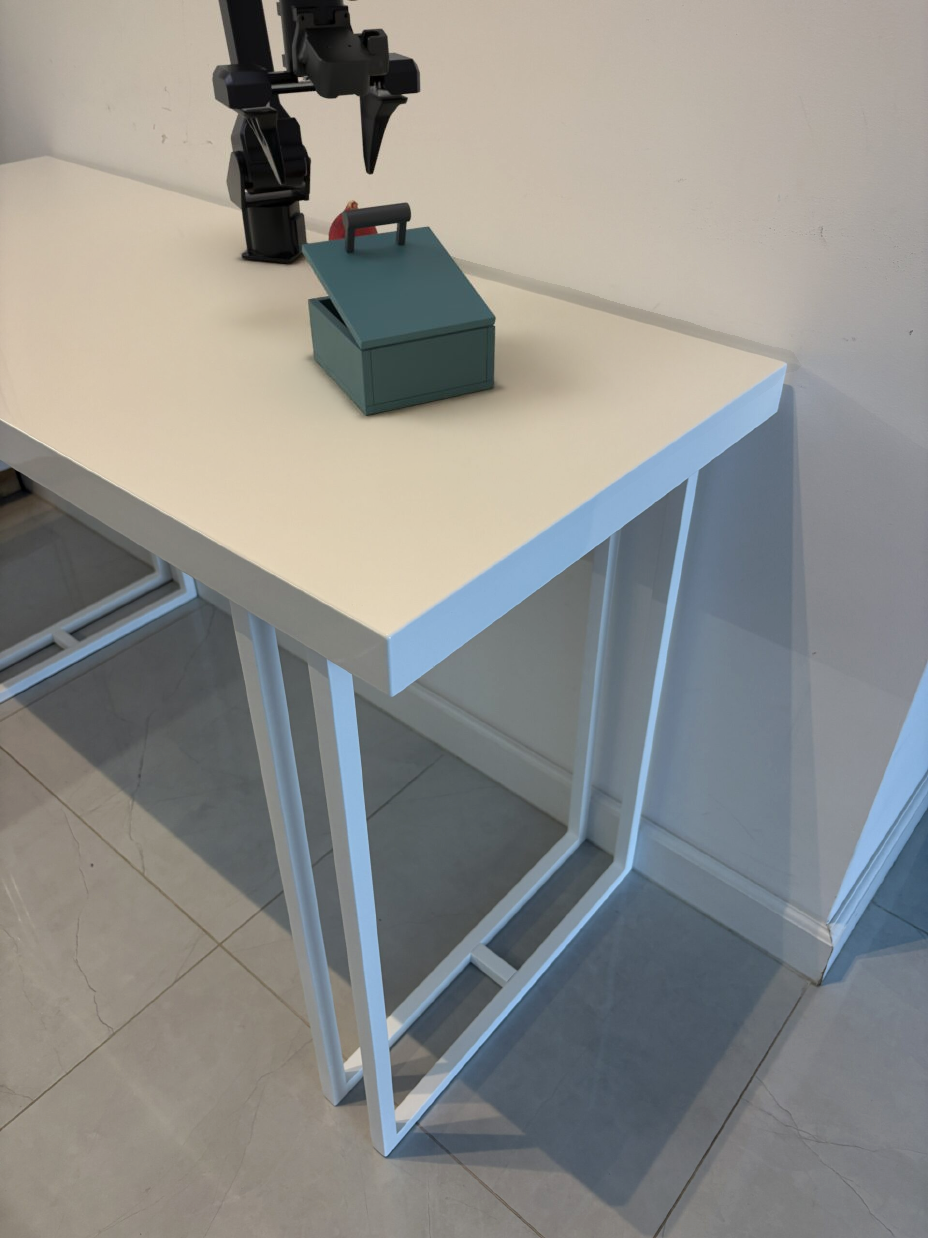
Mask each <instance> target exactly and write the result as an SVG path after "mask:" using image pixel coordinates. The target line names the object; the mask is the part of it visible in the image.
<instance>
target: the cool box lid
mask: <svg viewBox="0 0 928 1238" xmlns="http://www.w3.org/2000/svg"><path fill="white" fill-rule="evenodd" d="M344 210H345V209H344ZM344 210H342V212H343V213H342V212H341V213H342V221H343V225H344V228H345V238H344V239H337V240H330V241H329V240H323V241H316V242H310V243H309V244H303V245H302V255H303V256H304V258H305V259H306V261H307V262H308V264H309V265H310V268H311V269H312V271H313V273H314V274H315V276H316V277H317V279H318V281H319V283H320V284H321V286H322V288H323V289H324V291H325V293H326V295H327V296H329V297H330V299H331V301H332V302H333V304H334V306H335V307H336V309H337V311H338V312H339V314H340V316H341V317H342V319H343V321H344V322H345V324H346V326H347V327H348V329H349V331H350V332H351V334H352V336H353V337H354V339H355V341H356V342H357V344H358V345H359V347H360V349H361V350H362V349H368V348H373V347H378V346H384V345H389V344H394V343H399V342H405V341H410V340H415V339H421V338H426V337H431V336H436V335H442V334H447V333H452V332H458V331H463V330H468V329H473V328H479V327H484V326H489V325H494V326H495V324H496V320H497V317H496V315H495V314H494V312H493V311H492V309H490V307H489V306H488V305H487V303H486V301H485V300H484V299H483V297H482V296H481V295H480V293H479V292H478V291H477V289H476V288H475V287H474V285H473V283H471V281H470V280H469V279H468V277H467V276H466V275H465V273H464V272H463V270H462V269H461V268H460V267H459V265H458V264H457V262H456V261H455V260H454V258H453V257H452V256H451V254H450V253H449V251H448V250H447V249H446V247H445V246H444V245H443V243H442V242H441V240H440V239H439V238H438V236H436V234H435V233H434V231H433V230H432V229H431V227H430V226H428V225H427V226H421V227H414V228H408V229H407V227H408V223H409V222H410V221H411V220H412V209H411V206H410V203H408V202H407V201H406V202H399V203H398V202H397V203H392V204H391V203H389V204H383V205H375V206H367V207H360V208H358V209H352V210H345V211H344ZM389 225H396V230H393V231H386V232H385V231H384V232H380V233H379V232H378V234H371V235H365V236H358V237H355V229H360V228H367V227H374V226H375V227H380V226H389Z"/></svg>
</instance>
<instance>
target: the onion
mask: <svg viewBox="0 0 928 1238" xmlns="http://www.w3.org/2000/svg"><path fill="white" fill-rule="evenodd" d="M358 206H359V203H358V202H357V201H355V200H353V199H352V200H349V201H347V204H346V205H345V208H344V210H343V211H345V210H352V209H359V207H358ZM343 211H341V212H340V213H339V214H338V215H337V216H336V217H335V218H334V219H333V221H332V223H331V225H330V226H329V231H328V241H330V240H337V239H344V238H345V228H344V225H343V221H342V213H343ZM378 233H379V232H378V230H377V226H374V227H367V228H360V229H355V237H358V236H365V235H371V234H378Z"/></svg>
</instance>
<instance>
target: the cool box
mask: <svg viewBox="0 0 928 1238" xmlns="http://www.w3.org/2000/svg"><path fill="white" fill-rule="evenodd" d="M307 306H308V315H309V324H310V333H311V334H310V335H311V342H312V343H311V344H312V354H313V359H314V361H316V362H317V364H319V366H320V367H321V369H323V370H324V371H325V372H326V374H328V376H329V377H330V378H331V379H332V380H333V381H334V382H335V383H336V384H337V386H338V387H339V388H340V389H341V390H342V391H343V392H344V393H345V394H346V395H347V397H348V398H349V399H350V400H351V401H352V402H353V403H354V404H355V405H356V406H357V408H359V410H360V411H361V412H362V413H363V414H364V415H365V416H370V415H375V414H380V413H383V412H390V411H393V410H398V409H402V408H407V407H411V406H416V405H420V404H425V403H430V402H431V403H432V402H435V401H439V400H444V399H448V398H453V397H457V396H463V395H467V394H472V393H476V392H481V391H486V390H491V389H494V388H495V364H496V363H495V362H496V361H495V357H496V325H495V324H494V325H489V326H484V327H479V328H473V329H468V330H463V331H458V332H452V333H447V334H442V335H436V336H431V337H426V338H421V339H415V340H410V341H405V342H399V343H394V344H389V345H384V346H378V347H373V348H368V349H362V350H361V349H360V347H359V345H358V344H357V342H356V341H355V339H354V337H353V336H352V334H351V332H350V331H349V329H348V327H347V326H346V324H345V322H344V321H343V319H342V317H341V316H340V314H339V312H338V311H337V309H336V307H335V306H334V304H333V302H332V301H331V299H330V297H329V296H328V295H327V296H326V295H325V296H319V297H313V298H308V299H307Z"/></svg>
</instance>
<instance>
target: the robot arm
mask: <svg viewBox="0 0 928 1238" xmlns="http://www.w3.org/2000/svg"><path fill="white" fill-rule="evenodd" d="M217 1H218V6H219V11H220V16H221V21H222V26H223V27H222V28H223V31H224V37H225V42H226V47H227V52H228V57H229V62H230V64H218V65H216V66H215V68H214V70H213V72H212V78H211V81H212V87H213V94H214V95H213V96H214V100H216V101H217V102H219V104H222V105H224V106H225V107H226V108H228V109H230V110H232V111H233V112H234V113H236V114H237V115H236V119H235V122H234V125H233V128H232V131H231V134H230V143H231V150H232V151H231V152H230V155H229V162H228V168H227V175H226V181H225V182H226V187H227V191H228V196H229V201H231V202H232V203H233V204H234V205H235V206H236V207H238V208H239V209H240V210H241V217H242V225H243V231H244V237H245V243H246V244H245V245H246V250H245V251H243V252H242V253H241V254H240V255H241V259H243V260H253V261H254V260H255V261H263V262H275V263H285V264H288V263H292V262H293V261H294V260H296V259H297V258H298V257H299V256H301V255H303V253H302V245H303V244H309V243H308V241H307V240H308V239H307V229H306V228H307V227H306V219H305V214H304V213H303V212H301V205H300V202H302V201H303V202H308V201H310V194H311V174H312V173H311V172H312V171H311V170H312V167H311V166H312V158H311V156H309V153H308V150H307V147H306V146H305V145H304V144H303V137H302V131H301V125H300V123H299V122H298V120H297V118H296V117H295V116H293V117H292V116H291V115H290V114H289V112H288V111H287V110H286V108H284V107H283V105H282V103H281V100H280V95H286V94H298V93H299V94H300V93H311V92H316V93H317V95H318V96H320V97H321V98H322V99H323V98H324V99H328V100H333V99H335V100H336V99H337V98H338V97H342V96H354V95H355V96H356V97H359V110H360V127H361V143H362V157H363V163H364V169H365V173H366V174H368V175H374V172H375V170H376V165H377V161H378V157H379V155H380V150H381V146H382V143H383V138H384V135H385V133H386V129H387V127H388V123H389V121H390V119H391V117H392V115H393V114H394V112H395V111H396V110H397V108H398V107H400V105H401V106H402V105H406V104H407V103H408V100H409V97H408V96H406V95H411V94H413V95H414V94H419V93H420V92H421V72H420V69H419V66H418V63H417V62H416V61H415V60H414V59H413V58H412V57H409V56H407V55H403V54H400V53H397V52H390V48H389V39H388V38H389V37H388V34H387V33H386V31H385V30H384V29H383V28H366V29H363V30H362V31H361V32H358V33H354V29H353V26H352V22H351V14H350V11H349V5H347V4H344V1H345V0H278V1H276V3H275V4H276V13H277V16H279V17H280V22H281V23H280V24H281V31H282V32H281V33H282V41H283V49H284V50H283V51H284V53H282V54H281V60H282V61H281V62H282V67H283V68H285V70H278V71H277V70H276V71H275V66H274V61H273V54H272V50H271V43H270V38H269V37H270V36H269V31H268V27H267V20H266V15H265V9H264V4H263V0H217ZM348 1H350V2H355V1H357V0H348ZM299 78H302V80H299Z"/></svg>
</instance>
